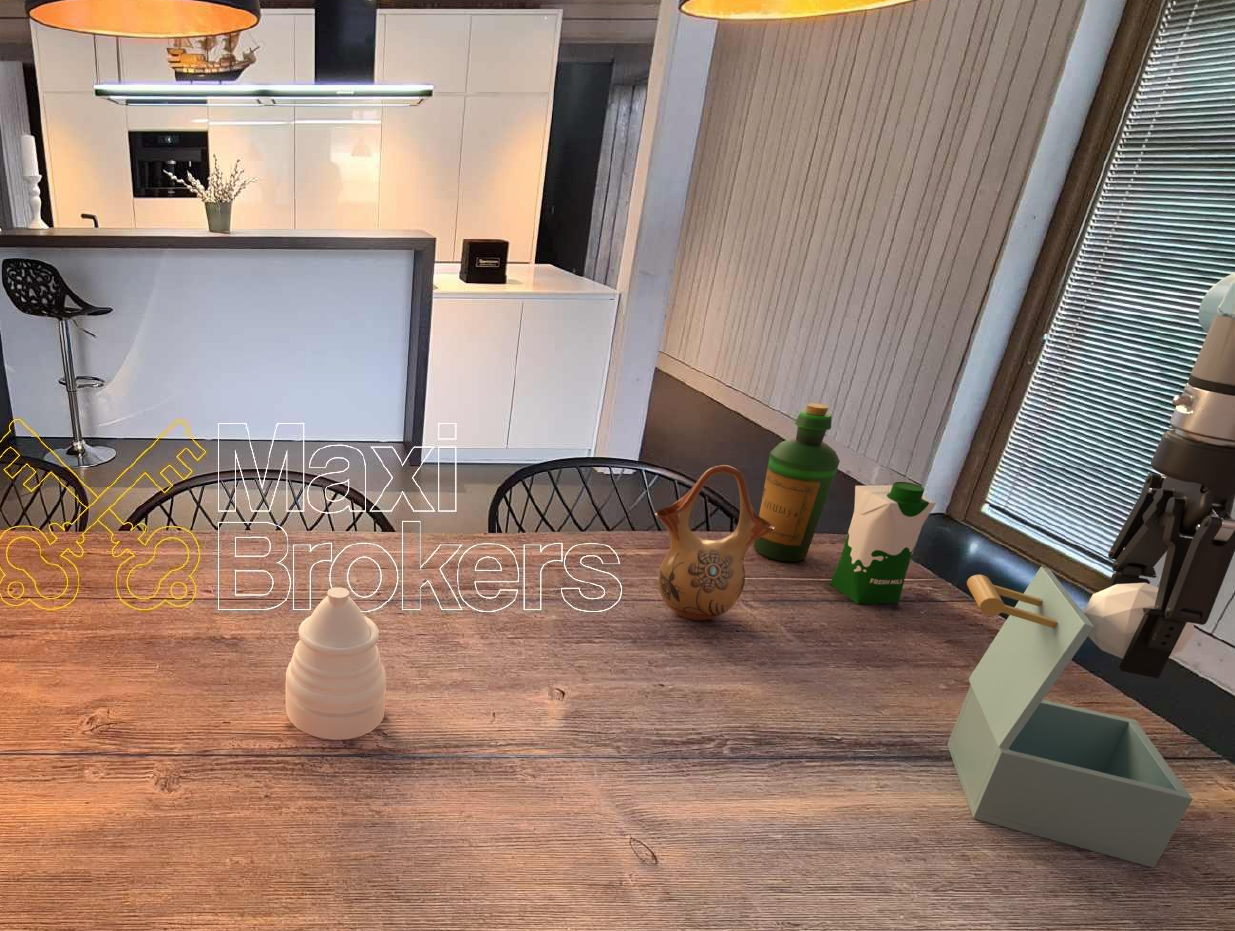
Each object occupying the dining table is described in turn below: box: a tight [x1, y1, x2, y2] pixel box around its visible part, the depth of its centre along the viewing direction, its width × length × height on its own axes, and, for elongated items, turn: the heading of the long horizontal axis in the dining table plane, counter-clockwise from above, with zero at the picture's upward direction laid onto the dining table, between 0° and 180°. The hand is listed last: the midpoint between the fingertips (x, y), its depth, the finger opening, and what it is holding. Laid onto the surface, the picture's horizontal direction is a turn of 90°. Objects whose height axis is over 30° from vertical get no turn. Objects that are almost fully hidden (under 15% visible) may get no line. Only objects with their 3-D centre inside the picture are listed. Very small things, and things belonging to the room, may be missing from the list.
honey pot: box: [285, 586, 388, 741], centre depth 101 cm, size 13×13×18 cm
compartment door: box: [966, 566, 1094, 750], centre depth 87 cm, size 16×14×7 cm
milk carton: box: [829, 481, 937, 605], centre depth 130 cm, size 9×9×20 cm
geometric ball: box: [1082, 583, 1196, 659], centre depth 80 cm, size 8×8×8 cm
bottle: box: [753, 402, 841, 563], centre depth 143 cm, size 11×11×28 cm
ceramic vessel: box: [654, 464, 774, 621], centre depth 122 cm, size 16×9×25 cm, turn 73°
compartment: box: [946, 684, 1193, 869], centre depth 88 cm, size 15×14×9 cm
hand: (1121, 651), depth 82 cm, fingers closed on geometric ball, 8 cm apart
